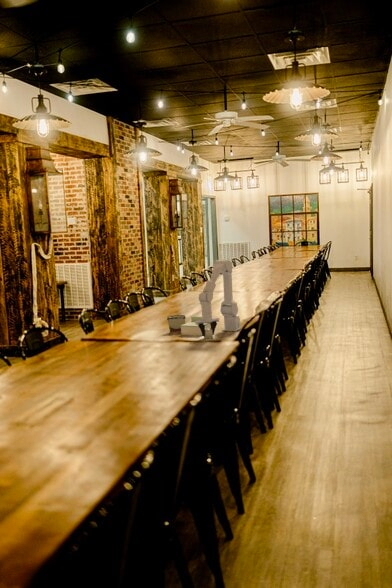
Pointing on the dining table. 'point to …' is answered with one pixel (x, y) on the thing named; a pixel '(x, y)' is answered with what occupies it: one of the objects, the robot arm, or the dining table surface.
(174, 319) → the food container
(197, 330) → the box
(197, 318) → the lid
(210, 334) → the cream rounded piece
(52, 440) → the dining table surface
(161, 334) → the dining table surface
